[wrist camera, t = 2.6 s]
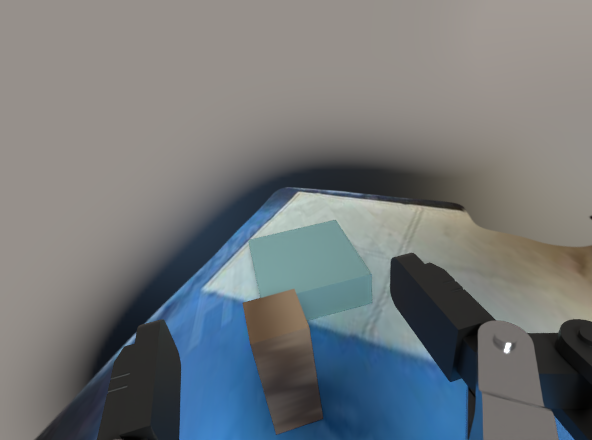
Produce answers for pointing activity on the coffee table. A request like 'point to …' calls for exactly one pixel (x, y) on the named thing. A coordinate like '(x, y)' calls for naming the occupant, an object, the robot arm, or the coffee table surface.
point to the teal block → (313, 269)
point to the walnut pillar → (284, 359)
